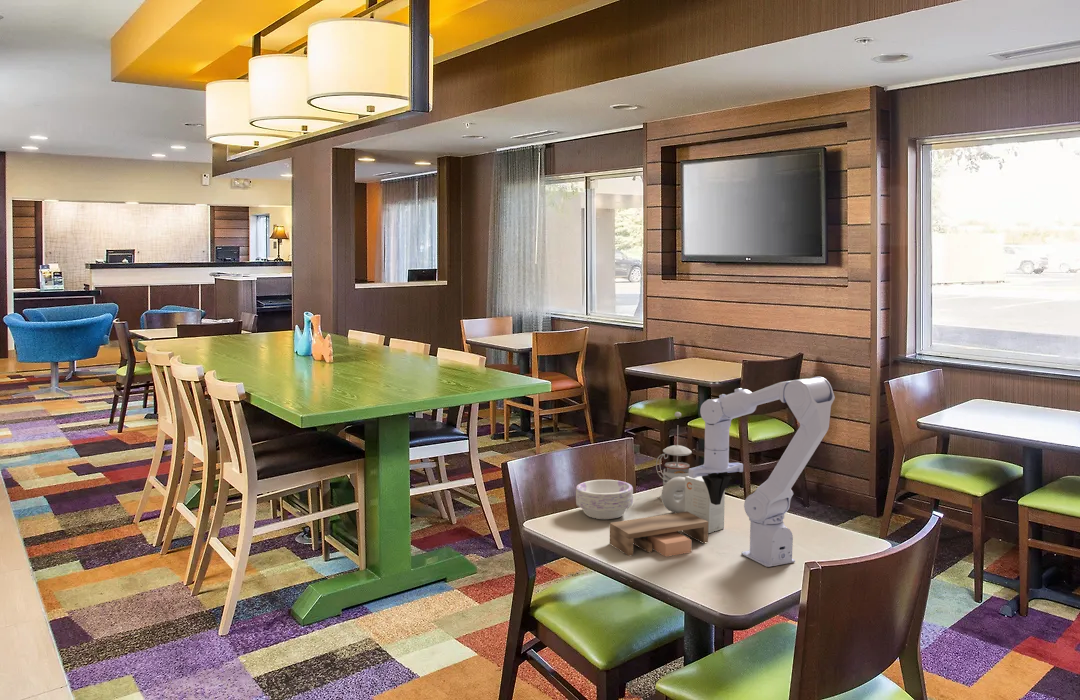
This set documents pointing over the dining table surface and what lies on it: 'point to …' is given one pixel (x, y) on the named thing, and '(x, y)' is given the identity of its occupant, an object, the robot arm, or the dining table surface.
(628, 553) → the wooden stand
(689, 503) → the small box
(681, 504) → the donut
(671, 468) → the french press
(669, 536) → the cover
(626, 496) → the paper bowls
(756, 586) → the dining table surface
